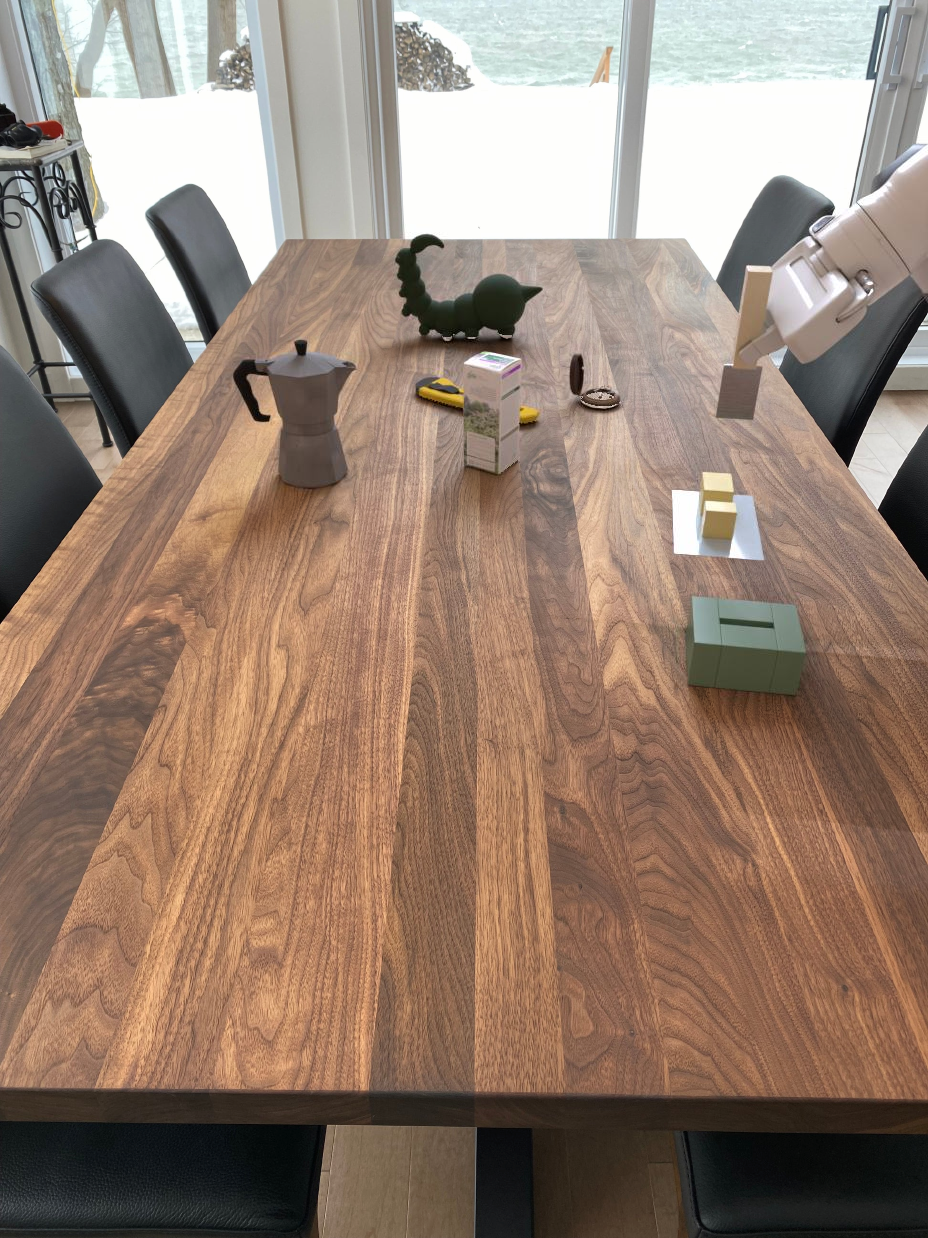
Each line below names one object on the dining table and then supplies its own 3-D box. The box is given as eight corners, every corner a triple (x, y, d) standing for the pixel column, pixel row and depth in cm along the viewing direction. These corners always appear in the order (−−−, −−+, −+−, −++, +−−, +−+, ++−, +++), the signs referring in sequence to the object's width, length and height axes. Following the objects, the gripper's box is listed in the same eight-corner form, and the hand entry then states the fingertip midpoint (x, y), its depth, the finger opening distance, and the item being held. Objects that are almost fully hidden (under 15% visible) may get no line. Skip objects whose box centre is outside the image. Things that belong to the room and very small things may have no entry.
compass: (616, 412, 147) (620, 365, 143) (565, 406, 149) (568, 359, 145) (626, 393, 153) (631, 348, 149) (577, 387, 155) (580, 342, 151)
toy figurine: (403, 354, 173) (545, 344, 170) (389, 243, 162) (540, 230, 160) (409, 337, 181) (544, 327, 178) (395, 229, 170) (539, 217, 168)
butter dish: (751, 502, 123) (752, 495, 122) (763, 568, 110) (764, 560, 109) (671, 496, 124) (672, 489, 124) (673, 560, 111) (674, 553, 111)
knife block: (685, 636, 99) (691, 595, 96) (786, 646, 98) (796, 604, 95) (687, 685, 92) (694, 642, 90) (796, 696, 91) (806, 652, 88)
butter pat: (731, 529, 115) (735, 502, 113) (732, 539, 113) (737, 512, 111) (700, 526, 116) (705, 500, 114) (701, 537, 114) (705, 510, 112)
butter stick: (727, 499, 122) (731, 473, 120) (729, 518, 118) (734, 491, 116) (698, 496, 122) (702, 471, 120) (700, 515, 118) (704, 489, 116)
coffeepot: (364, 457, 134) (356, 327, 124) (361, 488, 126) (352, 352, 116) (252, 459, 133) (234, 328, 123) (241, 490, 126) (221, 353, 115)
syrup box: (520, 460, 133) (524, 356, 125) (498, 476, 129) (500, 370, 121) (484, 450, 136) (485, 348, 127) (461, 466, 132) (461, 361, 123)
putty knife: (752, 415, 108) (778, 266, 99) (753, 423, 106) (781, 272, 97) (715, 413, 108) (738, 264, 99) (716, 421, 106) (740, 270, 97)
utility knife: (431, 382, 157) (431, 370, 156) (551, 414, 146) (552, 402, 145) (404, 395, 152) (404, 383, 151) (526, 429, 142) (527, 416, 140)
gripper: (901, 315, 89) (772, 411, 96) (852, 257, 106) (745, 342, 112) (862, 263, 87) (733, 365, 93) (818, 212, 104) (711, 302, 110)
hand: (739, 352), depth 103 cm, fingers closed on putty knife, 2 cm apart
